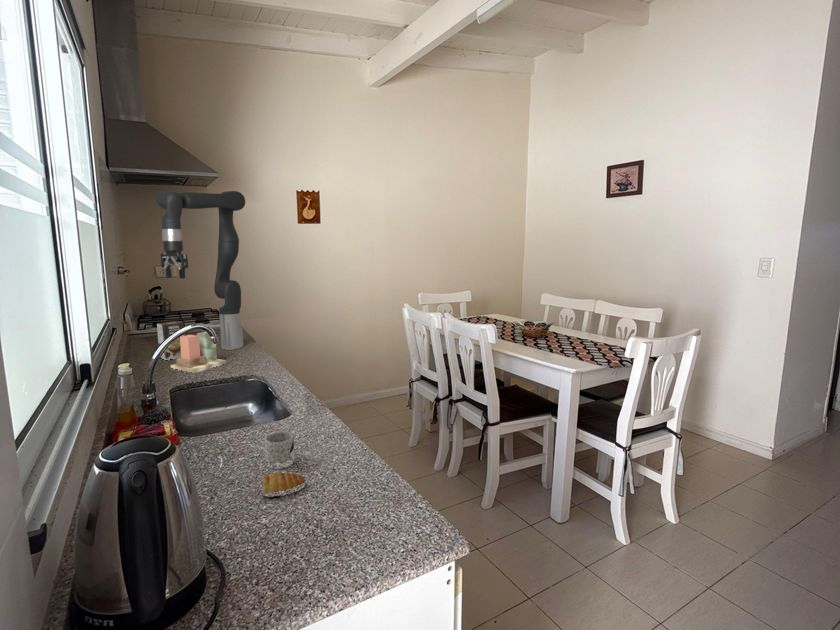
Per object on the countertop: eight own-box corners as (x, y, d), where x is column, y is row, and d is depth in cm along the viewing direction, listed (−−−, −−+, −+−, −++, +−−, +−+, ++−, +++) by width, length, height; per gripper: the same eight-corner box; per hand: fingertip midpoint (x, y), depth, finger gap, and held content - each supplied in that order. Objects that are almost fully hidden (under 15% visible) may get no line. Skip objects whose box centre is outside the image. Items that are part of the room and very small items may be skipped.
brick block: (192, 355, 201) (190, 334, 200) (200, 356, 199) (198, 335, 198) (181, 358, 197) (179, 336, 196) (189, 359, 195) (188, 337, 193)
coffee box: (166, 361, 210) (162, 324, 207) (159, 358, 213) (155, 323, 211) (186, 357, 217) (183, 321, 214) (179, 354, 221) (176, 320, 218)
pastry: (303, 479, 109) (303, 463, 109) (307, 494, 103) (307, 477, 102) (260, 486, 106) (259, 470, 105) (262, 502, 100) (261, 485, 99)
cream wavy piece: (203, 359, 212) (201, 329, 210) (226, 363, 206) (224, 332, 204) (170, 368, 198) (168, 336, 196) (194, 373, 192) (191, 340, 190)
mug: (297, 465, 115) (296, 439, 114) (269, 472, 112) (268, 445, 111) (287, 449, 124) (286, 425, 123) (260, 455, 121) (259, 430, 120)
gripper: (191, 240, 204) (194, 278, 207) (169, 239, 210) (172, 276, 213) (175, 240, 197) (178, 279, 200) (153, 239, 204) (156, 278, 206)
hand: (175, 278), depth 207 cm, fingers open, 8 cm apart
